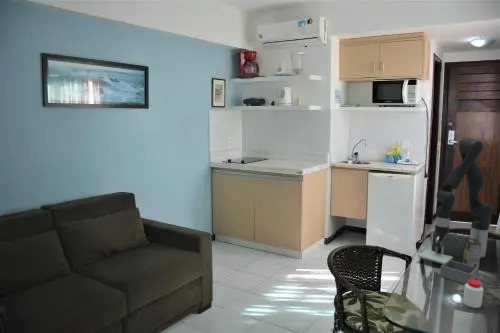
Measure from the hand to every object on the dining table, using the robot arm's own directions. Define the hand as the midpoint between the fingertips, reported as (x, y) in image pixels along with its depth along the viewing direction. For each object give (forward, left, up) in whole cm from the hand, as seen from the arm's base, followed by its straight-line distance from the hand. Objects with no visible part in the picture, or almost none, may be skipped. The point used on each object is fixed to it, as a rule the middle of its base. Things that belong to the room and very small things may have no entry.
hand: (439, 252), depth 247 cm
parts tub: (+15, +16, -5) cm, 23 cm away
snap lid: (+6, 0, -2) cm, 6 cm away
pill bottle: (+40, +31, -5) cm, 51 cm away
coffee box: (-3, +16, -5) cm, 18 cm away
